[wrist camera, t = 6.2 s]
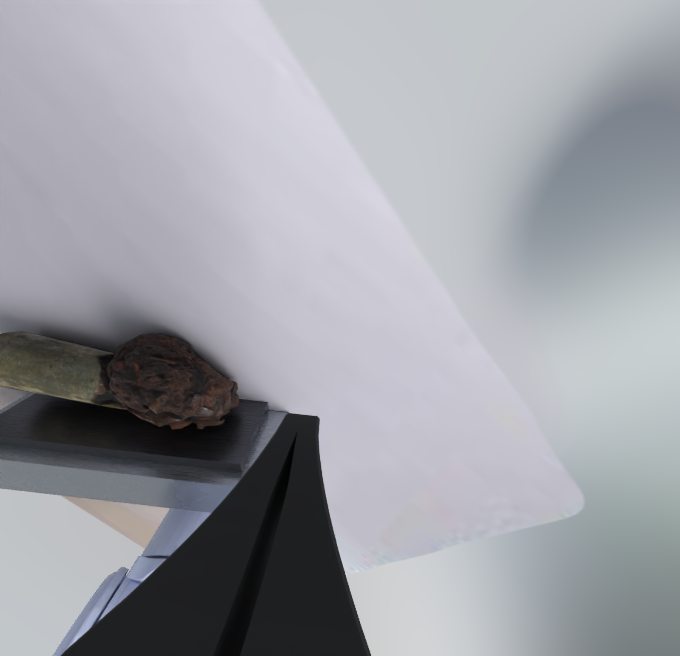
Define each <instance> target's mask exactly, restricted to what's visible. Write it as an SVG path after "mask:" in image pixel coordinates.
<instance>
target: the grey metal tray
mask: <svg viewBox="0 0 680 656" xmlns="http://www.w3.org/2000/svg"><path fill="white" fill-rule="evenodd" d="M286 414H288V413H287V412H278V411H269V410H268V403H266V402H257V401H248V400H239V404H238V406H237V407H234V408H232V409H230V410H229V413H227V414H226V415H223V416H221V419H225V420H224V422H223V423H222V424H220V425H214V426H206V427H205V428H204V429H198V428H197V425H196V423H194V422H193V423H191V424H190V425H188V426H185V427H184V428H182V429H171V426H170V425H164V426H161V427H159V426H157V425H156V424H153V423H151V422H149V421H146V420H143V419H141V418H139V417H138V416H136V415H134V414H133V413H131V412H129V411H128V409H118V408H112V407H105V406H102V405H96V404H91V403H86V402H81V401H75V400H70V399H65V398H60V397H55V396H50V395H44V394H38V393H34V392H31V393H29V394H27V395H25V396H24V397H22V398H20V399H19V400H17V401H15V402H13V403H12V404H10V405H8V406H6V407H5V408H3V409H1V410H0V488H2V489H11V490H20V491H29V492H36V493H45V494H54V495H62V496H71V497H79V498H88V499H97V500H105V501H114V502H122V503H131V504H140V505H148V506H157V507H165V508H174V509H183V510H191V511H200V512H208V513H212V512H213V511H214V510H215V509H216V508H217V506H218V505H219V504H220V503H221V502H222V501H223V500H224V499H225V497H226V496H227V495H228V494H229V493H230V492H231V490H232V489H233V488H234V487H235V486H236V484H237V483H238V482H239V481H240V479H241V478H242V477H243V476H244V474H245V473H246V472H247V471H248V469H249V468H250V467H251V466H252V464H253V463H254V462H255V460H256V459H257V458H258V456H259V455H260V453H261V452H262V451H263V449H264V448H265V447H266V445H267V444H268V442H269V441H270V439H271V438H272V436H273V435H274V433H275V432H276V430H277V429H278V427H279V425H280V424H281V422H282V420H283V419H284V417H285V415H286Z"/></svg>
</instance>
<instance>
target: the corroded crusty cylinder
mask: <svg viewBox="0 0 680 656" xmlns="http://www.w3.org/2000/svg"><path fill="white" fill-rule="evenodd" d="M0 386H2V387H7V388H12V389H18V390H23V391H29V392H34V393H38V394H44V395H50V396H55V397H60V398H65V399H70V400H75V401H81V402H86V403H91V404H96V405H102V406H105V407H112V408H118V409H128V411H129V412H131V413H133V414H134V415H136V416H138V417H139V418H141V419H143V420H146V421H149V422H151V423H153V424H156V425H157V426H159V427H161V426H164V425H170V426H171V429H182V428H184V427H185V426H188V425H190V424H191V423H193V422H194V423H196V425H197V428H198V429H204V428H205V427H206V426H214V425H220V424H222V423H223V422H224V420H225V419H221V416H223V415H226V414H227V413H229V410H230V409H232V408H234V407H237V406H238V404H239V398H238V395H237V394H236V391H237V389H238V386H237V383H236V382H234V381H229V378H227V377H225V376H221V375H220V374H218V372H217V371H215V370H214V369H212V367H210V366H209V365H208V364H207V363H206V362H205V361H204V360H203V359H200V358H199V357H197V356H196V355H195V354H194V352H193V351H192V349H191V345H190V344H188V343H186V342H185V341H183V340H181V339H179V338H175V337H168V336H166V335H164V334H146V335H140V336H137V337H136V338H134V339H132V340H130V341H128V342H126V343H124V344H123V345H121V346H120V347H118V349H117V350H116V351H115V353H111V352H106V351H102V350H98V349H95V348H91V347H87V346H83V345H79V344H74V343H70V342H65V341H61V340H57V339H53V338H49V337H45V336H40V335H36V334H32V333H27V332H9V333H3V334H0Z"/></svg>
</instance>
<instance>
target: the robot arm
mask: <svg viewBox="0 0 680 656" xmlns="http://www.w3.org/2000/svg"><path fill="white" fill-rule="evenodd" d="M319 421H320V419H319V418H318V417H317V416H310V415H301V414H292V413H288V414H286V415H285V417H284V419H283V420H282V422H281V424H280V425H279V427H278V429H277V430H276V432H275V433H274V435H273V436H272V438H271V439H270V441H269V442H268V444H267V445H266V447H265V448H264V449H263V451H262V452H261V453H260V455H259V456H258V458H257V459H256V460H255V462H254V463H253V464H252V466H251V467H250V468H249V469H248V471H247V472H246V473H245V474H244V476H243V477H242V478H241V479H240V481H239V482H238V483H237V484H236V486H235V487H234V488H233V489H232V490H231V492H230V493H229V494H228V495H227V496H226V497H225V499H224V500H223V501H222V502H221V503H220V504H219V505H218V506H217V508H216V509H215V510H214V511H213V512H212V513H208V512H200V511H191V510H183V509H174V508H170V509H169V511H168V513H167V514H166V516H165V518H164V519H163V521H162V522H161V524H160V526H159V527H158V529H157V531H156V532H155V534H154V536H153V537H152V539H151V540H150V542H149V544H148V545H147V547H146V549H145V550H144V552H143V554H142V555H141V556H139V557H138V558H137V560H136V561H135V563H134V565H133V566H132V568H131V570H130V571H129V573H128V574H127V576H125V575H126V573H127V572H128V569H127V568H125V567H121V568H120V569H119V570H118V571H117V572H114V573H113V574H111V575H109V576H108V577H107V578H106V579H105V580H104V581H103V583H102V584H101V585H100V587H99V588H98V589H97V591H96V592H95V594H94V595H93V596H92V598H91V599H90V601H89V602H88V604H87V605H86V607H85V608H84V610H83V611H82V612H81V614H80V615H79V617H78V618H77V620H76V622H75V623H74V624H73V626H72V627H71V629H70V630H69V632H68V633H67V635H66V636H65V638H64V639H63V641H62V642H61V644H60V645H59V647H58V648H57V650H56V652H55V653H54V655H53V656H371V654H370V651H369V648H368V645H367V642H366V639H365V636H364V633H363V630H362V627H361V624H360V621H359V618H358V615H357V611H356V608H355V605H354V602H353V599H352V596H351V592H350V589H349V585H348V582H347V578H346V575H345V571H344V568H343V565H342V561H341V558H340V554H339V551H338V547H337V543H336V539H335V535H334V531H333V527H332V522H331V518H330V514H329V509H328V504H327V500H326V494H325V489H324V483H323V477H322V470H321V462H320V454H319V438H318V435H319Z"/></svg>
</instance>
